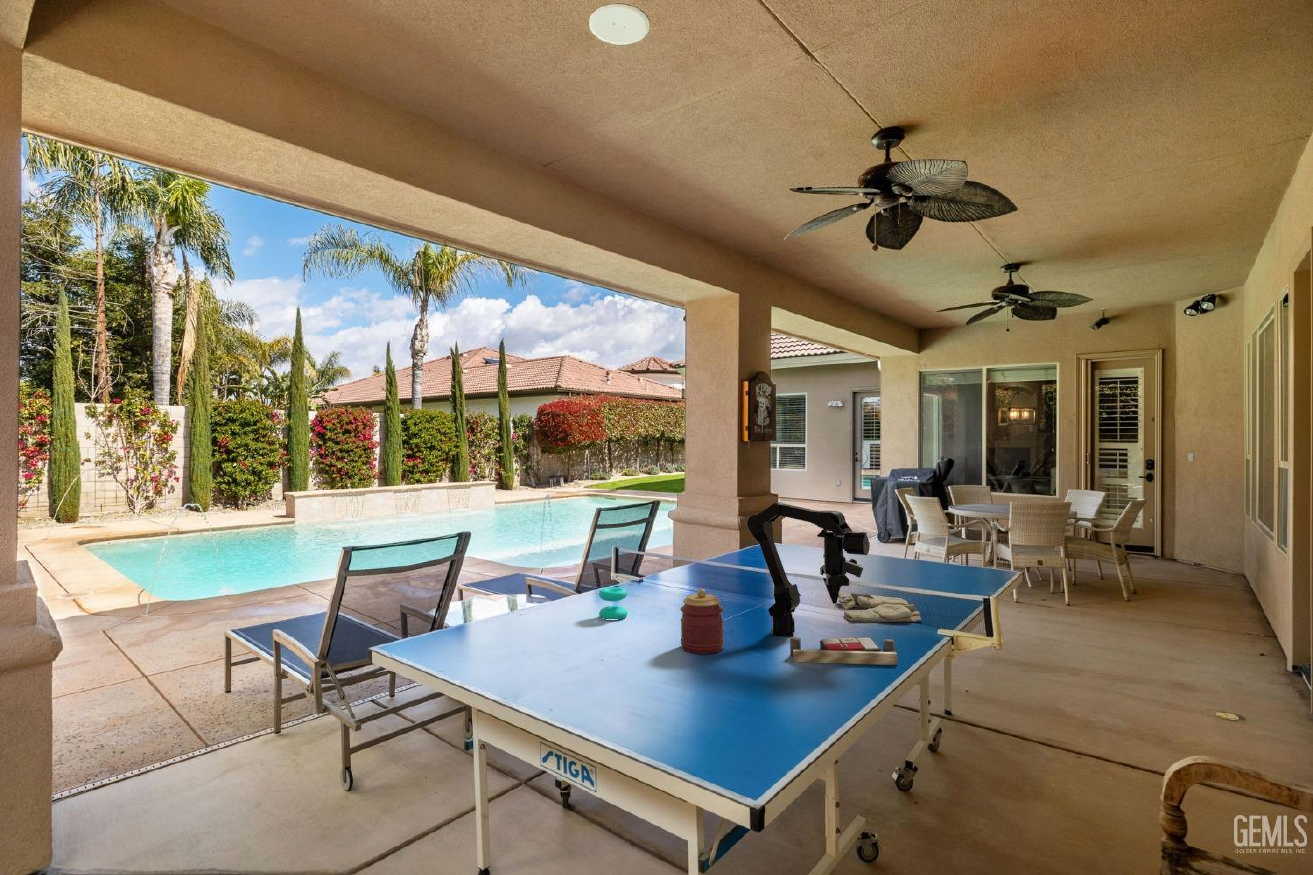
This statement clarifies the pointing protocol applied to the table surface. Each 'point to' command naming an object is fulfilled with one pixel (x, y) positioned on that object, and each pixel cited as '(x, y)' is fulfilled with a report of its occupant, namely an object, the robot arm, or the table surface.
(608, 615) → the donuts
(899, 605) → the pair of gloves
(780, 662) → the table surface
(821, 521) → the robot arm
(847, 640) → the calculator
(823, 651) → the seat bracket
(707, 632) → the canister
